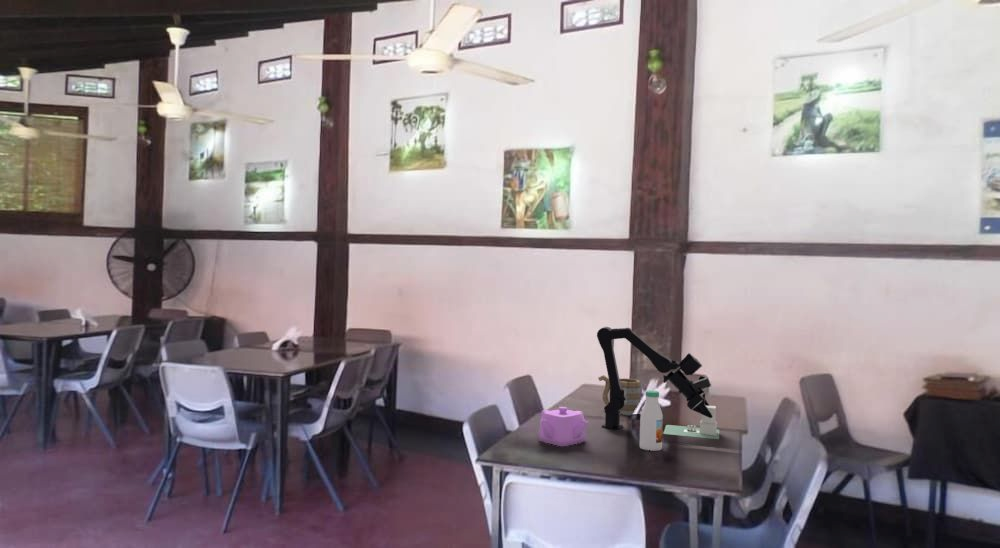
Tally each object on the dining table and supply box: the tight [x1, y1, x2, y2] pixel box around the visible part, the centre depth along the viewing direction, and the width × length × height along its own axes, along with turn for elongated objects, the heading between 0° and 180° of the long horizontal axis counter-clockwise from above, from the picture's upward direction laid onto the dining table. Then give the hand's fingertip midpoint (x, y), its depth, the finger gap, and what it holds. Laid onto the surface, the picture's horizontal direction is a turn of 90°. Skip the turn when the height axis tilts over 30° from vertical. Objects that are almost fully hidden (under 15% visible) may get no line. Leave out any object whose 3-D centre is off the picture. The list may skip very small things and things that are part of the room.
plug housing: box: [699, 405, 718, 435], centre depth 261 cm, size 6×5×10 cm
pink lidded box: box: [538, 406, 589, 446], centre depth 248 cm, size 17×17×12 cm
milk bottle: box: [639, 390, 664, 452], centre depth 241 cm, size 8×8×20 cm
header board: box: [662, 424, 720, 440], centre depth 263 cm, size 20×16×4 cm
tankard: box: [598, 375, 643, 416], centre depth 304 cm, size 20×13×15 cm, turn 58°
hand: (711, 414), depth 261 cm, fingers open, 9 cm apart
